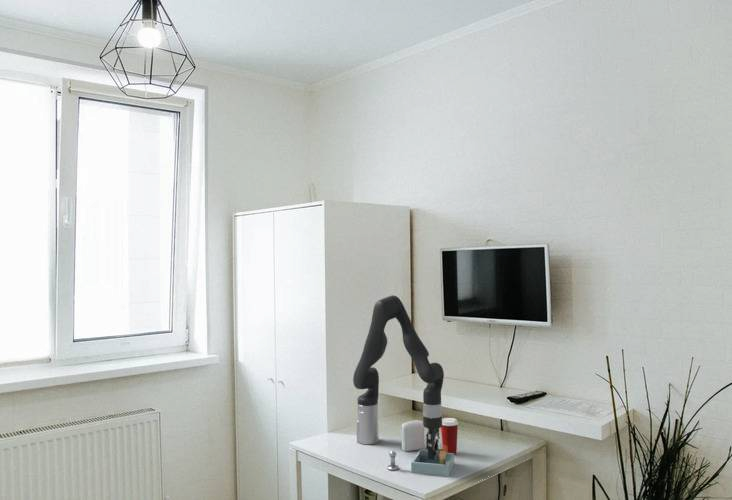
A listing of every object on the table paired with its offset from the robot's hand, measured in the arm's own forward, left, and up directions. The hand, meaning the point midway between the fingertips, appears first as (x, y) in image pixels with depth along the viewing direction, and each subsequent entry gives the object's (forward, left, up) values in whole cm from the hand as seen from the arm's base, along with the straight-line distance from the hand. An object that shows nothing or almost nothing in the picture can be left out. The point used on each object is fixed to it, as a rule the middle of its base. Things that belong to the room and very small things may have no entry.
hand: (433, 455), depth 228 cm
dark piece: (-1, 0, -4) cm, 4 cm away
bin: (0, 0, -5) cm, 5 cm away
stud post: (-15, -5, -5) cm, 17 cm away
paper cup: (+3, +18, -5) cm, 19 cm away
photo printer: (-13, +19, -5) cm, 24 cm away
